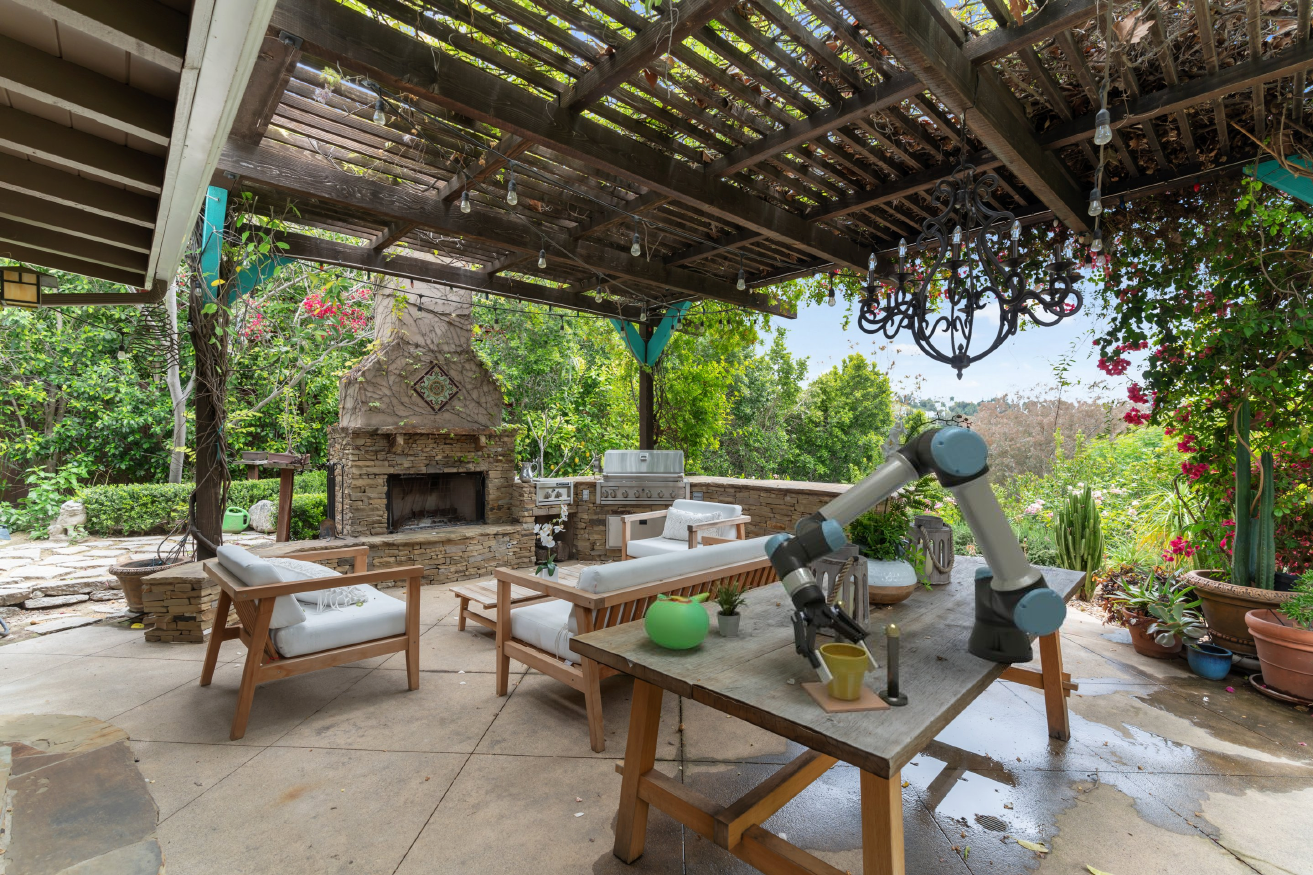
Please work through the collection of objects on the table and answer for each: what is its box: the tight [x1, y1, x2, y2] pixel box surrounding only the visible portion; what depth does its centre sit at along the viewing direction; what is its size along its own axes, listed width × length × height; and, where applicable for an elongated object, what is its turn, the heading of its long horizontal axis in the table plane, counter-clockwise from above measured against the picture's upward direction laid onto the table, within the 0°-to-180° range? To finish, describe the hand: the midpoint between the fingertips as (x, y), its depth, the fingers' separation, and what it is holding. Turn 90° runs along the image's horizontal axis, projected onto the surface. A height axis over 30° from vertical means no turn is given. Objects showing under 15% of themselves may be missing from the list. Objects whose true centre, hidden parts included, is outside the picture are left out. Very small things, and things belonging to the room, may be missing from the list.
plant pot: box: [818, 642, 868, 700], centre depth 131 cm, size 10×10×10 cm
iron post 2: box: [877, 622, 909, 707], centre depth 129 cm, size 6×6×17 cm
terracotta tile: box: [801, 681, 891, 714], centre depth 131 cm, size 14×14×1 cm
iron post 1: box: [832, 599, 847, 644], centre depth 149 cm, size 6×6×17 cm
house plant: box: [707, 578, 754, 637], centre depth 173 cm, size 14×14×16 cm
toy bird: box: [644, 592, 711, 650], centre depth 163 cm, size 18×17×15 cm
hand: (851, 675), depth 129 cm, fingers open, 13 cm apart
